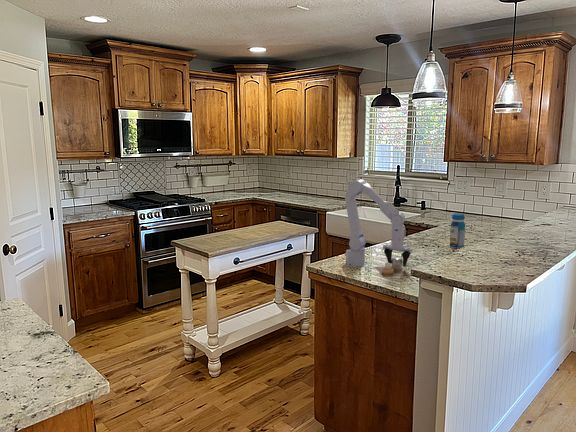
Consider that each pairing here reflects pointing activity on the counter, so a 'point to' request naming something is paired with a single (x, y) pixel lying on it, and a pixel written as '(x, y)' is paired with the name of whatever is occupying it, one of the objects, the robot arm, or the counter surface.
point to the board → (395, 273)
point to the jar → (387, 269)
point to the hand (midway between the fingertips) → (397, 265)
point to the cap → (397, 263)
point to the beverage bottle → (457, 231)
